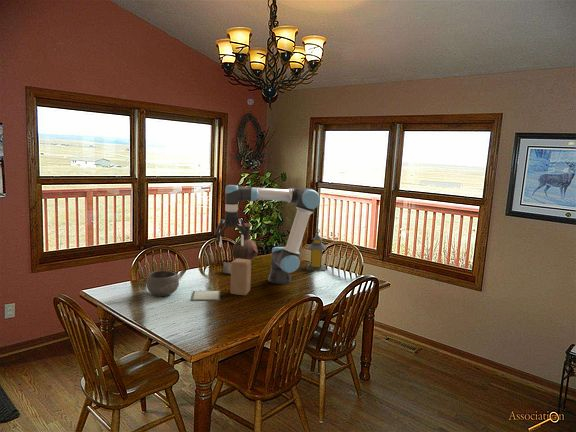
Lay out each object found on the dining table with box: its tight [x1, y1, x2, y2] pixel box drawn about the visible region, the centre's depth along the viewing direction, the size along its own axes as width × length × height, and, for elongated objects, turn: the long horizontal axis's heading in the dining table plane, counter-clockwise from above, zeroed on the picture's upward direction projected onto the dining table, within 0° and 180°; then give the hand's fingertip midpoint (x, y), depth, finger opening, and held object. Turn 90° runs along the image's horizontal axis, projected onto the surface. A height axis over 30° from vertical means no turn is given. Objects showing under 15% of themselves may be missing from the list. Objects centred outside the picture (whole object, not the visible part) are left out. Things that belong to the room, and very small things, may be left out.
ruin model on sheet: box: [222, 261, 231, 275], centre depth 295 cm, size 11×3×10 cm, turn 67°
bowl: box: [146, 269, 180, 297], centre depth 244 cm, size 18×18×13 cm
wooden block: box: [229, 258, 252, 296], centre depth 253 cm, size 10×10×20 cm
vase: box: [231, 222, 259, 261], centre depth 324 cm, size 25×20×30 cm
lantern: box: [305, 228, 327, 272], centre depth 317 cm, size 14×14×30 cm
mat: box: [190, 290, 221, 302], centre depth 246 cm, size 16×16×1 cm
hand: (231, 246), depth 253 cm, fingers open, 13 cm apart
